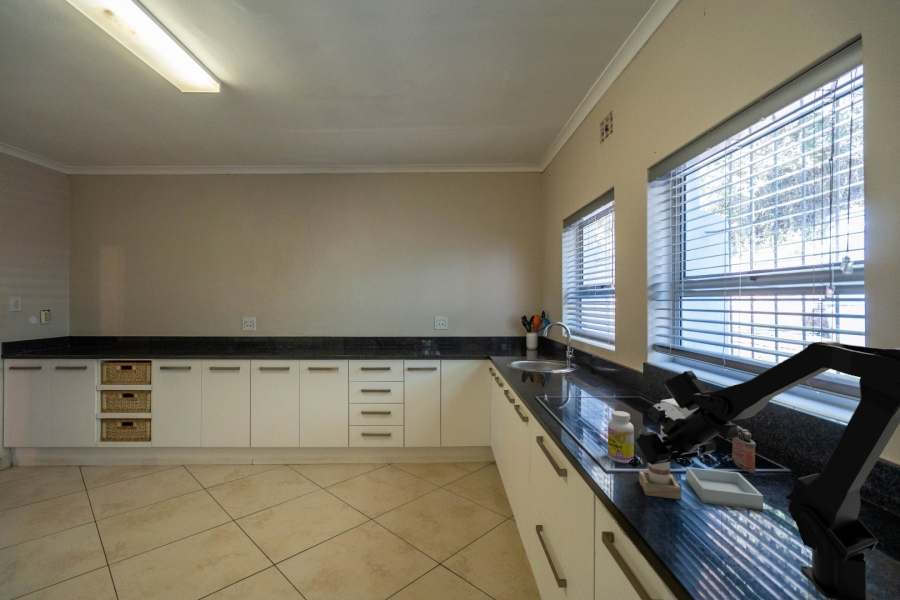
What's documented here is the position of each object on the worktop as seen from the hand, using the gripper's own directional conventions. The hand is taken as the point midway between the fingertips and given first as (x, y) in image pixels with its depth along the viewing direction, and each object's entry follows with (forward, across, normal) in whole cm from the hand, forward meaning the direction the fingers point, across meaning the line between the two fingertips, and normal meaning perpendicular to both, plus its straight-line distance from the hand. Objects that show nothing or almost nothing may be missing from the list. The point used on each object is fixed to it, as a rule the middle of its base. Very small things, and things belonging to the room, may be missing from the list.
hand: (654, 459), depth 90 cm
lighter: (+5, -32, +5) cm, 33 cm away
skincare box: (+13, -23, -3) cm, 27 cm away
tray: (-1, -12, +10) cm, 16 cm away
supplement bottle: (+16, -4, -6) cm, 17 cm away
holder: (+4, 0, +6) cm, 7 cm away
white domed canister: (+4, 0, +6) cm, 7 cm away
